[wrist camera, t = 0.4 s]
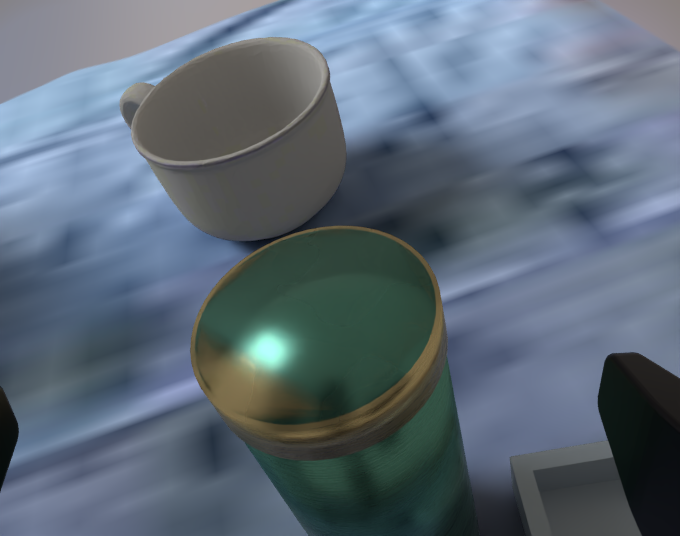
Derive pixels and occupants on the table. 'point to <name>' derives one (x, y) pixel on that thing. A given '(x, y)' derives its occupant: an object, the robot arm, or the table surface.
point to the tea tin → (340, 382)
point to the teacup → (243, 137)
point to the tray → (571, 493)
